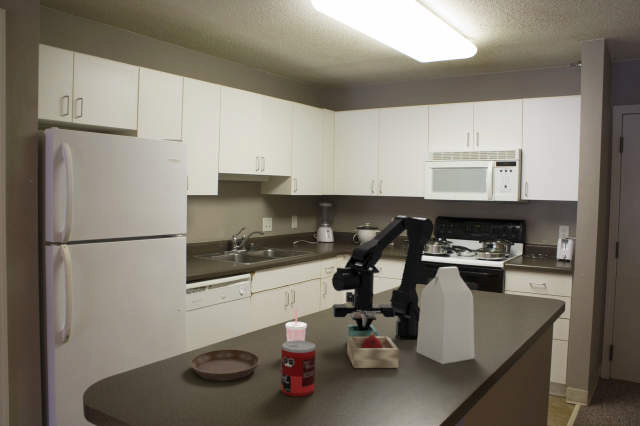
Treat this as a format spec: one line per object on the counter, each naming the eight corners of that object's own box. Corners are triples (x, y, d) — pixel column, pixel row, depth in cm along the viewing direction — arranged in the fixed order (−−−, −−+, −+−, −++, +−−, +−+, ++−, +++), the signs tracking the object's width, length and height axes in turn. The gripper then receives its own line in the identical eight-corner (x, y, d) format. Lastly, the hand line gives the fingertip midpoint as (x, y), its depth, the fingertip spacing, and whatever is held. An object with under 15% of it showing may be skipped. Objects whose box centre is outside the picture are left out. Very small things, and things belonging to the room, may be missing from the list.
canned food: (280, 384, 127) (281, 340, 126) (313, 384, 128) (314, 340, 127) (280, 397, 119) (281, 350, 119) (315, 397, 120) (316, 350, 119)
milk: (442, 364, 145) (445, 271, 144) (416, 351, 155) (419, 265, 154) (474, 358, 151) (478, 269, 149) (447, 347, 161) (450, 263, 160)
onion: (381, 365, 142) (381, 337, 142) (360, 363, 143) (360, 335, 143) (382, 359, 148) (383, 331, 148) (362, 357, 149) (363, 329, 149)
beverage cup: (309, 353, 151) (310, 305, 151) (301, 359, 145) (302, 310, 145) (289, 350, 153) (290, 303, 153) (281, 356, 147) (282, 308, 147)
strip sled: (378, 340, 165) (378, 324, 165) (398, 367, 140) (398, 349, 140) (340, 340, 164) (341, 324, 164) (354, 368, 139) (354, 349, 139)
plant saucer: (227, 389, 123) (227, 377, 123) (175, 374, 133) (175, 362, 133) (272, 368, 138) (273, 357, 138) (223, 356, 148) (223, 345, 147)
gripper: (387, 283, 168) (385, 330, 169) (330, 282, 166) (328, 331, 167) (396, 290, 157) (394, 341, 158) (335, 289, 155) (333, 341, 156)
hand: (362, 338), depth 160 cm, fingers closed
